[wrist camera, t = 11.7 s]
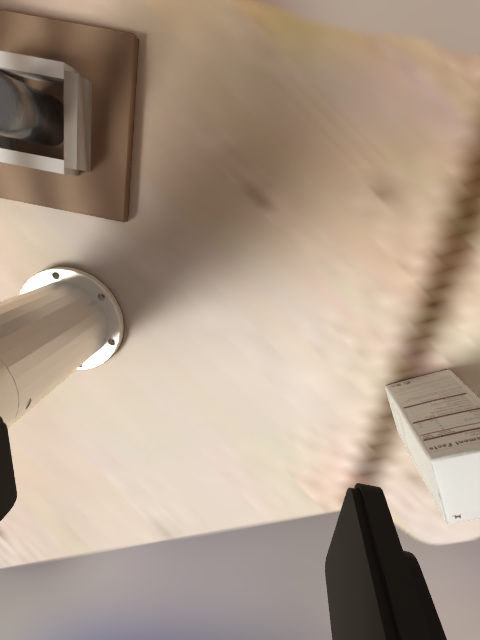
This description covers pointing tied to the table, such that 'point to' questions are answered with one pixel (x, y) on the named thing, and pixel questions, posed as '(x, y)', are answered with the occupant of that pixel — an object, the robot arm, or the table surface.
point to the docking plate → (72, 115)
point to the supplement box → (442, 439)
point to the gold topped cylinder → (30, 113)
